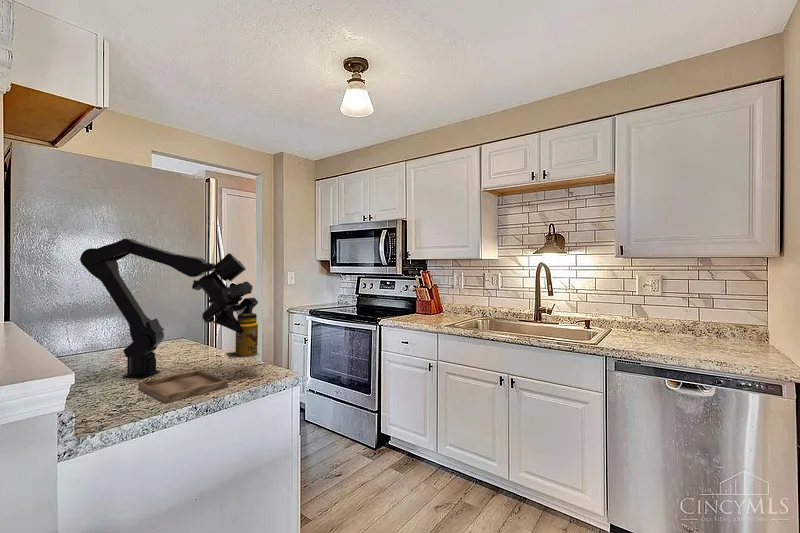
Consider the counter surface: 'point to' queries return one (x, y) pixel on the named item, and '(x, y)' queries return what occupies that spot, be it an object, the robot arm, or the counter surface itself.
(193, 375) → the tray
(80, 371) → the counter surface
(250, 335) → the condiment
